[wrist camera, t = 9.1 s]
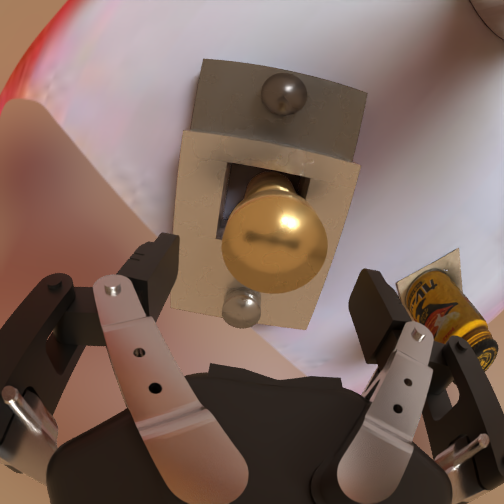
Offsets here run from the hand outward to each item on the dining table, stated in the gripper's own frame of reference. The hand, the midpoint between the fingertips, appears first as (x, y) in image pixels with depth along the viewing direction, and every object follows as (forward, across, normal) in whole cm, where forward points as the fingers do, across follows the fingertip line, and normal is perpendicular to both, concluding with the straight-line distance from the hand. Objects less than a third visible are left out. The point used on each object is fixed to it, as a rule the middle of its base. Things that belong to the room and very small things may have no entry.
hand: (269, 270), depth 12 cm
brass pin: (+12, 0, 0) cm, 12 cm away
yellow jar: (+12, -20, +6) cm, 25 cm away
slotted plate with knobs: (+12, +1, 0) cm, 12 cm away
